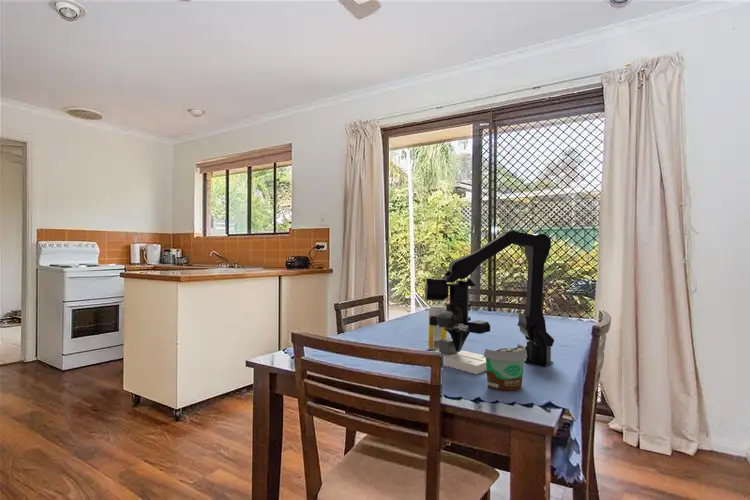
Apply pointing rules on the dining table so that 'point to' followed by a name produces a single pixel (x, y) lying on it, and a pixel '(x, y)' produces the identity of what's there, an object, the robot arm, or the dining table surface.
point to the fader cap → (447, 346)
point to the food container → (505, 368)
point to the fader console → (466, 361)
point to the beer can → (436, 328)
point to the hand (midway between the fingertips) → (458, 351)
